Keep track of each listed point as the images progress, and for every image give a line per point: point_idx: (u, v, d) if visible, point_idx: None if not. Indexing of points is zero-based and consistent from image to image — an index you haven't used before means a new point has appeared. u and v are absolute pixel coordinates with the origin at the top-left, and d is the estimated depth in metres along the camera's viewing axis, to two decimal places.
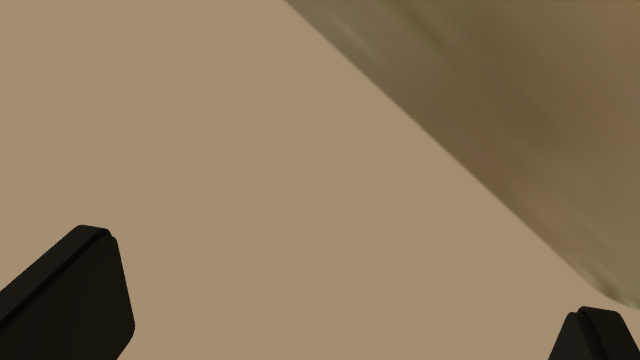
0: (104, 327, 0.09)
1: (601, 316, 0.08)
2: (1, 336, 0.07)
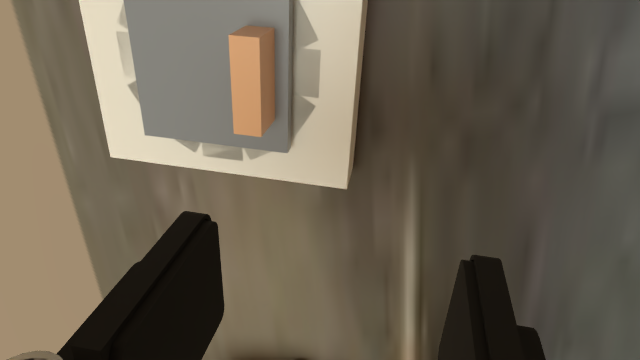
0: (206, 307, 0.10)
1: (483, 261, 0.09)
2: (146, 309, 0.08)
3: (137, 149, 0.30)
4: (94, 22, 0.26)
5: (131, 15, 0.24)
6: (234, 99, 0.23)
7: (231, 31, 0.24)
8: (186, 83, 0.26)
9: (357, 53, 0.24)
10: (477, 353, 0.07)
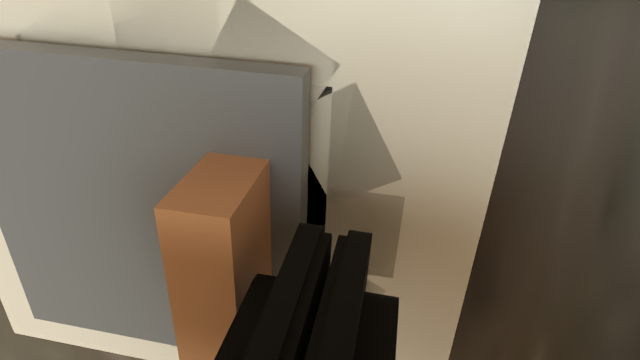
0: None
1: (355, 235, 0.09)
2: (299, 327, 0.07)
3: (57, 326, 0.17)
4: None
5: None
6: (179, 328, 0.10)
7: (177, 162, 0.11)
8: (97, 245, 0.13)
9: (485, 206, 0.11)
10: (319, 314, 0.08)
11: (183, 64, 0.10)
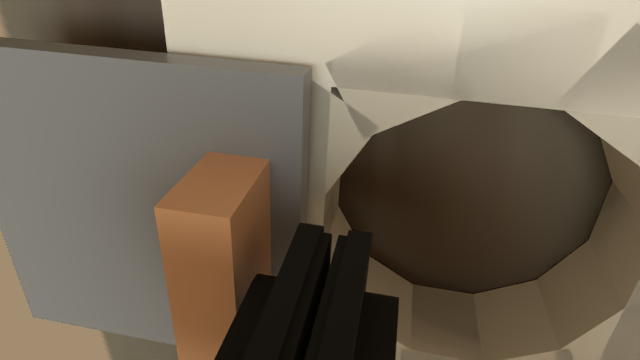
0: None
1: (355, 235, 0.09)
2: (299, 326, 0.07)
3: None
4: None
5: None
6: (179, 327, 0.10)
7: (177, 161, 0.11)
8: (96, 244, 0.13)
9: None
10: (319, 314, 0.08)
11: (184, 63, 0.10)
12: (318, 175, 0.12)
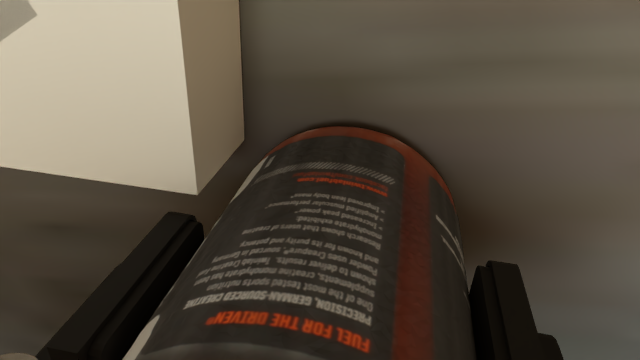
0: None
1: (500, 268, 0.09)
2: (126, 310, 0.07)
3: None
4: None
5: None
6: None
7: None
8: None
9: None
10: None
11: None
12: None
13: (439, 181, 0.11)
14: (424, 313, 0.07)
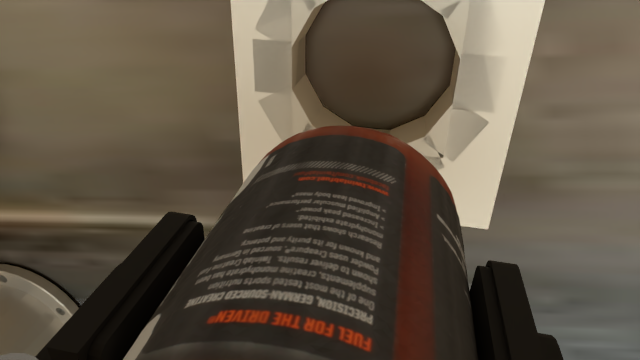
0: None
1: (501, 267, 0.09)
2: (126, 310, 0.07)
3: None
4: None
5: None
6: None
7: None
8: None
9: None
10: None
11: None
12: None
13: (440, 180, 0.11)
14: (427, 312, 0.07)
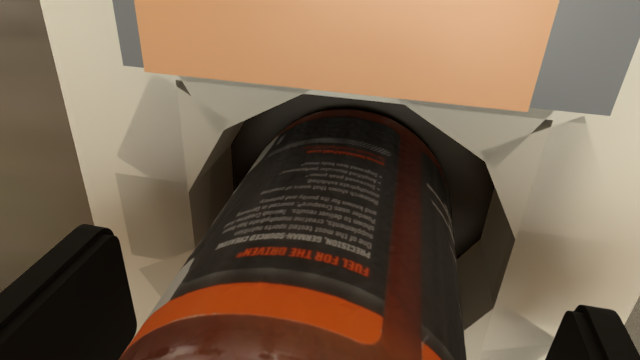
0: (106, 326, 0.10)
1: (598, 314, 0.08)
2: (4, 335, 0.07)
3: None
4: None
5: None
6: None
7: None
8: None
9: None
10: None
11: None
12: None
13: (431, 157, 0.12)
14: (415, 255, 0.08)
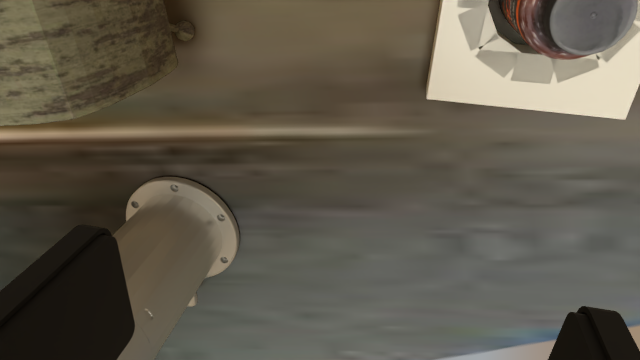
0: (104, 327, 0.09)
1: (601, 316, 0.08)
2: (1, 336, 0.07)
3: None
4: None
5: None
6: None
7: None
8: None
9: (541, 110, 0.33)
10: None
11: None
12: None
13: None
14: None
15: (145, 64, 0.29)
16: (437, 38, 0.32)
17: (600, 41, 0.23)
